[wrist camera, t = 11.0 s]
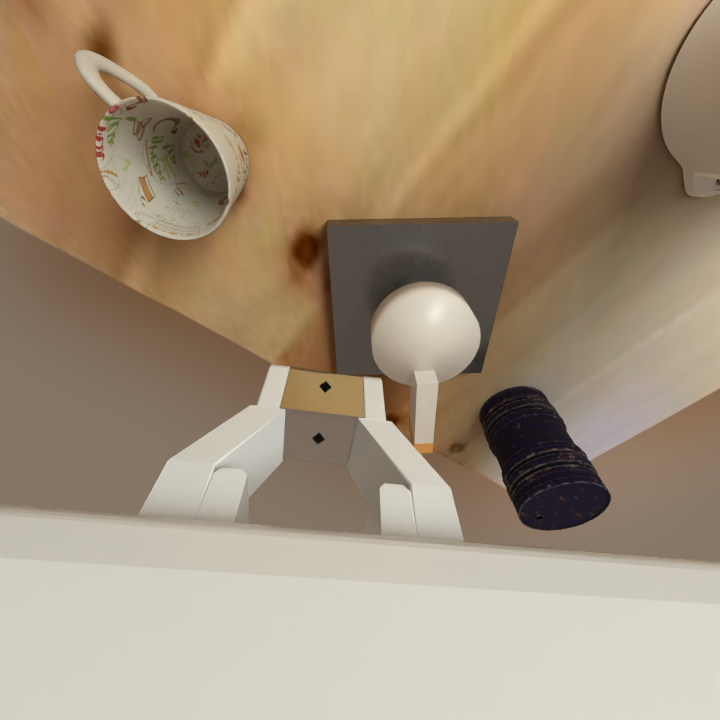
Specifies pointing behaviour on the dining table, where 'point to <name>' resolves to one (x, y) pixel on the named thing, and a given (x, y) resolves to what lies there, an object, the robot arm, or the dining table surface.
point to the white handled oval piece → (424, 347)
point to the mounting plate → (412, 274)
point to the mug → (164, 157)
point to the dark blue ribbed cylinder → (541, 461)
